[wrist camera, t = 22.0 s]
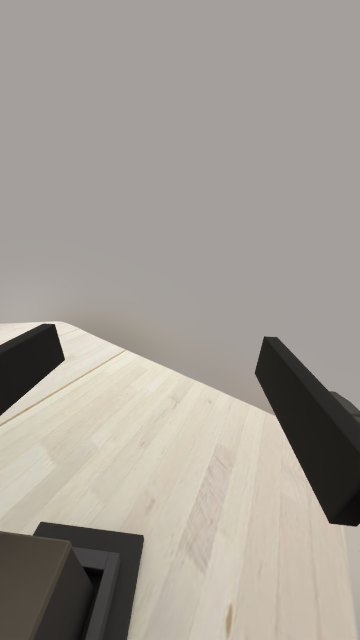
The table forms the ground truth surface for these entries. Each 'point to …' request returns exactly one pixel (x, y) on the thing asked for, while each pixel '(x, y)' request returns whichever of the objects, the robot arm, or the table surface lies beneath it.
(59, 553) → the dark capped pillar
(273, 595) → the table surface
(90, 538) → the pad
